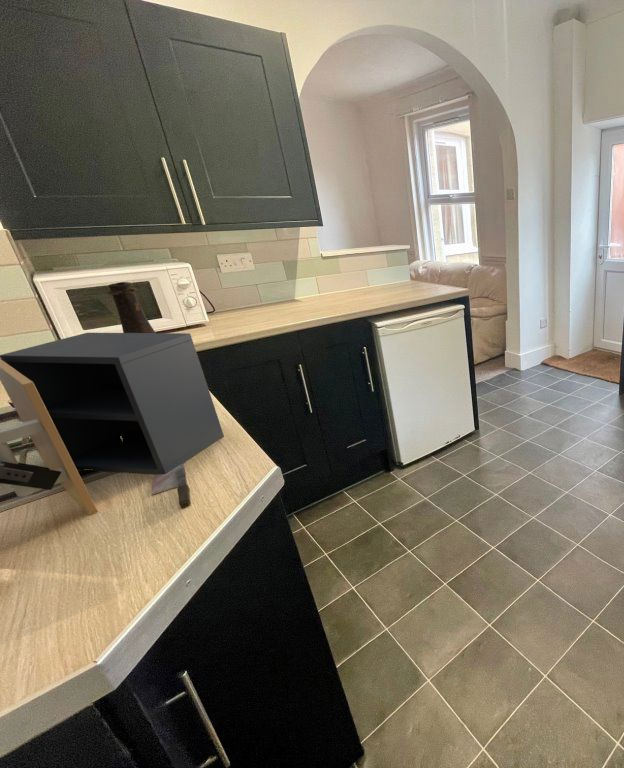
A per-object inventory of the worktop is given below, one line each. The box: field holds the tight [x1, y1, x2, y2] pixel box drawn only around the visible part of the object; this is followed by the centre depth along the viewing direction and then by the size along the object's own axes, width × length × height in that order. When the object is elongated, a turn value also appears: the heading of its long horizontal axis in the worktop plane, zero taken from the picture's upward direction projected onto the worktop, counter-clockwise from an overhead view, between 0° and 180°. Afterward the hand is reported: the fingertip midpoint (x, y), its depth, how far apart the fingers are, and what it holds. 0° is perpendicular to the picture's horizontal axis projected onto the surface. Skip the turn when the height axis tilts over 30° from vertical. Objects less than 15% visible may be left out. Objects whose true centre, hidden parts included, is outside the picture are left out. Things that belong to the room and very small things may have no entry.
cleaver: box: [151, 463, 191, 509], centre depth 71 cm, size 16×1×5 cm
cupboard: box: [0, 332, 225, 475], centre depth 78 cm, size 14×22×22 cm, turn 83°
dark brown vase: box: [106, 281, 157, 333], centre depth 111 cm, size 18×18×28 cm
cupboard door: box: [0, 359, 99, 516], centre depth 65 cm, size 6×22×22 cm, turn 57°
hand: (48, 478), depth 62 cm, fingers closed on cupboard door, 2 cm apart
